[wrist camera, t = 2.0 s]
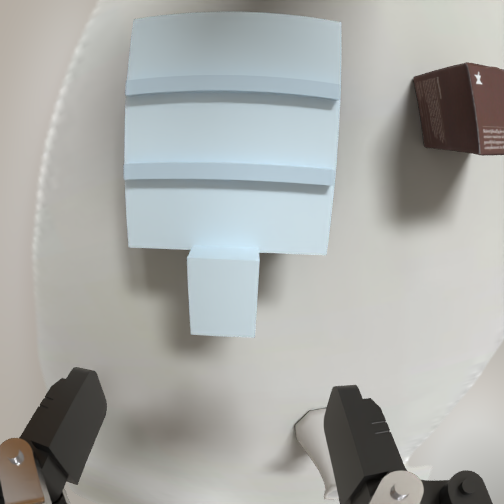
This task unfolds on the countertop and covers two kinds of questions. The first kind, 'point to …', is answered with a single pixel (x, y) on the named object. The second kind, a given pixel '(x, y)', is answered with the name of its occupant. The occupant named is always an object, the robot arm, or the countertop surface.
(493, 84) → the box
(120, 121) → the countertop surface
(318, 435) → the flask
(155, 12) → the countertop surface
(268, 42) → the lid
